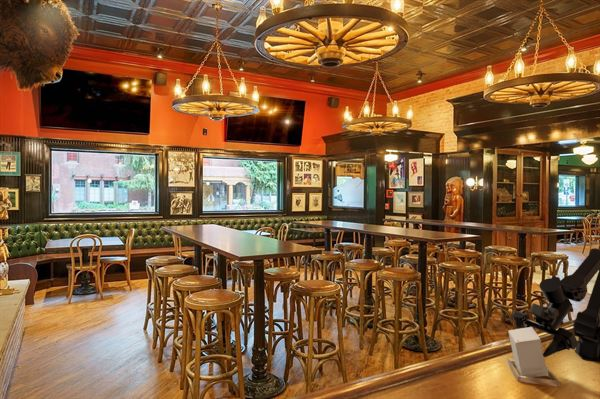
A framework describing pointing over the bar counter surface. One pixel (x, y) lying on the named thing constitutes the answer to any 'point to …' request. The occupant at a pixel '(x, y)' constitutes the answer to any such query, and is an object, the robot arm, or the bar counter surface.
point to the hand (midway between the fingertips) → (528, 349)
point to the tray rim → (540, 381)
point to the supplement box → (527, 352)
